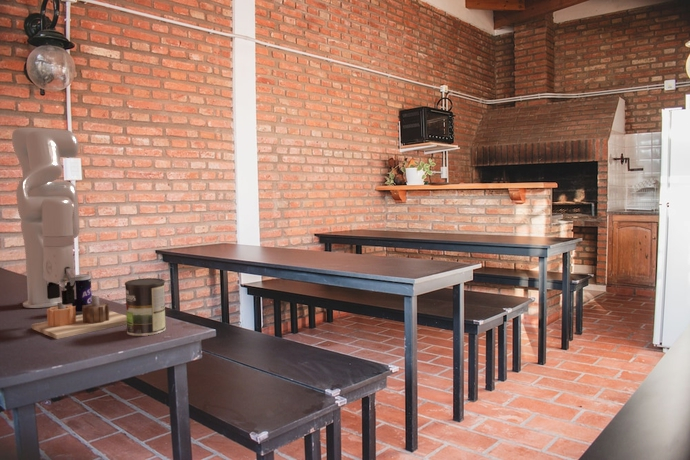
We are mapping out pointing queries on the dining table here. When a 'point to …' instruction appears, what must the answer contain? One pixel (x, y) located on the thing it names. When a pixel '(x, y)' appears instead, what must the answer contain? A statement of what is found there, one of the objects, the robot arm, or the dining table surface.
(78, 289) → the beverage can
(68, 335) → the gear board
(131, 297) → the coffee can
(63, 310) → the loose gear
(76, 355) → the dining table surface
